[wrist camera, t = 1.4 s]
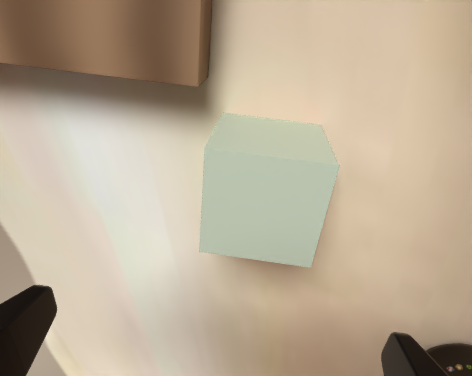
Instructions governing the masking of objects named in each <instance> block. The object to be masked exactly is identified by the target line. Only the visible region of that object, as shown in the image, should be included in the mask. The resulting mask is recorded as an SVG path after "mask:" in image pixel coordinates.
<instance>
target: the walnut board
mask: <svg viewBox="0 0 472 376" xmlns="http://www.w3.org/2000/svg"><path fill="white" fill-rule="evenodd" d="M211 13H212V0H0V63H6V64H14V65H23V66H31V67H39V68H47V69H55V70H64V71H72V72H80V73H88V74H97V75H105V76H113V77H121V78H129V79H138V80H146V81H154V82H162V83H171V84H179V85H187V86H195V87H198V86H199V85H200V84H201V83H202V82H203V81H204V80H205V79H206V78H207V77H208V70H209V51H210V32H211Z"/></svg>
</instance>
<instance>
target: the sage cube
mask: <svg viewBox="0 0 472 376" xmlns="http://www.w3.org/2000/svg"><path fill="white" fill-rule="evenodd" d="M339 166H340V165H339V163H338V160H337V158H336V156H335V154H334V152H333V149H332V147H331V145H330V143H329V141H328V139H327V136H326V134H325V132H324V130H323V128H322V125H318V124H310V123H302V122H294V121H286V120H278V119H270V118H262V117H254V116H246V115H238V114H230V113H222V115H221V117H220V119H219V121H218V123H217V125H216V127H215V129H214V131H213V133H212V135H211V137H210V139H209V141H208V143H207V144H206V146H205V153H204V171H203V190H202V209H201V228H200V247H199V252H204V253H211V254H218V255H225V256H232V257H239V258H246V259H253V260H260V261H267V262H274V263H281V264H288V265H295V266H302V267H309V268H311V265H312V262H313V258H314V255H315V251H316V248H317V244H318V241H319V237H320V234H321V230H322V226H323V223H324V219H325V216H326V212H327V209H328V205H329V202H330V198H331V195H332V191H333V188H334V184H335V180H336V177H337V173H338V170H339Z"/></svg>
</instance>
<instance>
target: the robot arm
mask: <svg viewBox="0 0 472 376" xmlns="http://www.w3.org/2000/svg"><path fill="white" fill-rule="evenodd" d="M56 313H57V305H56V301H55V298H54V294H53V290H52V288H51V287H49V286H43V285H33V286H31V287H29V288H28V289H26V290H24V291H22V292H21V293H19V294H17V295H15V296H14V297H12V298H10V299H8V300H7V301H5V302H3V303H1V304H0V376H26V374H27V373H28V371H29V369H30V367H31V365H32V363H33V361H34V359H35V357H36V355H37V353H38V351H39V349H40V347H41V345H42V343H43V341H44V339H45V337H46V335H47V332H48V330H49V328H50V326H51V324H52V322H53V320H54V318H55V316H56ZM381 361H382V367H383V373H384V376H448V374H447V373H446V372H445V371H444V370H443V369H442V368H441V367H440V366H439V365H438V364H437V363H436V362H435V361H434V360H433V359H432V358H431V356H430V355H429V354H428V353H427V352H426V351H425V350H424V349H423V348H422V347H421V346H420V345H419V344H418V343H417V342H416V341H415V340H414V339H413V338H412V337H411V336H410V335H408V334H404V333H397V332H393V333H391V334H390V336H389V338H388V340H387V342H386V344H385V346H384V348H383V351H382V354H381Z"/></svg>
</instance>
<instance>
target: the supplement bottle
mask: <svg viewBox="0 0 472 376" xmlns="http://www.w3.org/2000/svg"><path fill="white" fill-rule="evenodd" d="M426 352H427V353H428V354H429V355H430V356H431V358H432V359H433V360H434V361H435V362H436V363H437V364H438V365H439V366H440V367H441V368H442V369H443V370H444V371H445V372H446V373H447V374H448V376H472V345H468V344H446V345H441V346H437V347H434V348H432V349H430V350H428V351H426Z"/></svg>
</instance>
